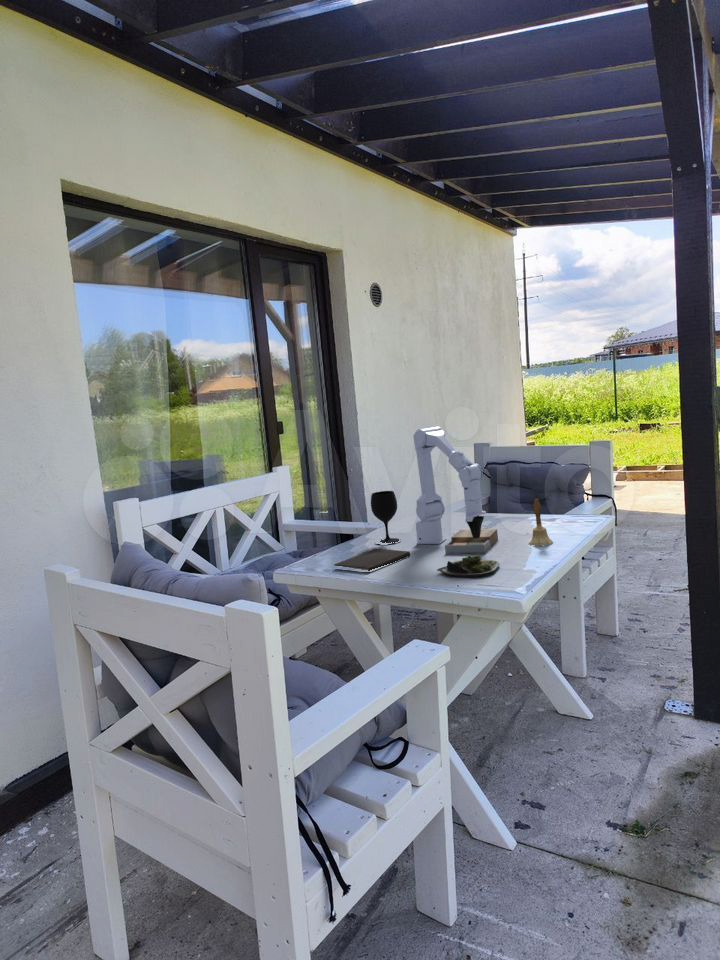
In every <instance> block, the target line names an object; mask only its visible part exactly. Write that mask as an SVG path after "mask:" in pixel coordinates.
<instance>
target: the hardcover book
mask: <svg viewBox="0 0 720 960" xmlns="http://www.w3.org/2000/svg"><path fill="white" fill-rule="evenodd" d="M410 555H411V552H410V551H408V550H395V549H385V548H374V549H372V550H371V549H370V550H369V551H366V552H363V553H361V554H358V555H355V556H352V557H350V558H347V559H345V560H342V561H340V562H337V563H334V564H333V566H334V567H335V566H343V567H349V568H354V569H361V570H368V571H370V570H372V569H375V568H378V567H381V566H384V565H387V564H390V563H393V562H395V561H398V560H400V559H403V558H405V557H407V556H410ZM410 557H411V556H410ZM405 559H406V558H405ZM403 560H404V559H403ZM400 561H401V560H400ZM398 562H399V561H398ZM393 564H394V563H393Z"/></svg>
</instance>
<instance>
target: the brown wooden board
mask: <svg viewBox="0 0 720 960" xmlns="http://www.w3.org/2000/svg"><path fill="white" fill-rule="evenodd" d="M498 534H499V533H498V529H497V528H496V529H493V528H492V529H488V528H487V529H481V533H480V537H479V538H473V536H472V533H471V530H470V529H459V531H457V532H456V533H455V534H453V536H451V538H450V539H451V540H453V544H454V543H468V545H469V543H485V542H486V541H487V540H490V547H491V546H492V545H493V544H494V543H495V542H496V541H497V542H498V540H499V536H498ZM451 540H450V541H451ZM495 544H496V543H495ZM495 544H494V545H495ZM494 545H493V546H494ZM493 546H492V547H493ZM492 547H491V548H492Z"/></svg>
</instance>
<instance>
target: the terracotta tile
mask: <svg viewBox="0 0 720 960" xmlns="http://www.w3.org/2000/svg"><path fill="white" fill-rule="evenodd" d="M452 545H468V543H454V544H452Z"/></svg>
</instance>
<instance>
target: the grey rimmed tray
mask: <svg viewBox="0 0 720 960" xmlns="http://www.w3.org/2000/svg"><path fill="white" fill-rule="evenodd" d="M452 544H453V540H450V541H448V542H447V543H446V544H445V545H444V550H445V555H451V554H452V555H454V554H455V555H457V554H459V555H464V554H465V553H472V554H473V555H475V554H474V553H481V555H482V553H485V554H486V553H487V552H488V551H489V550H490V549H491V548H490V540H487V541H486V542H485V543H484V544H483V545H452ZM489 548H490V549H489ZM465 555H466V554H465Z"/></svg>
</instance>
